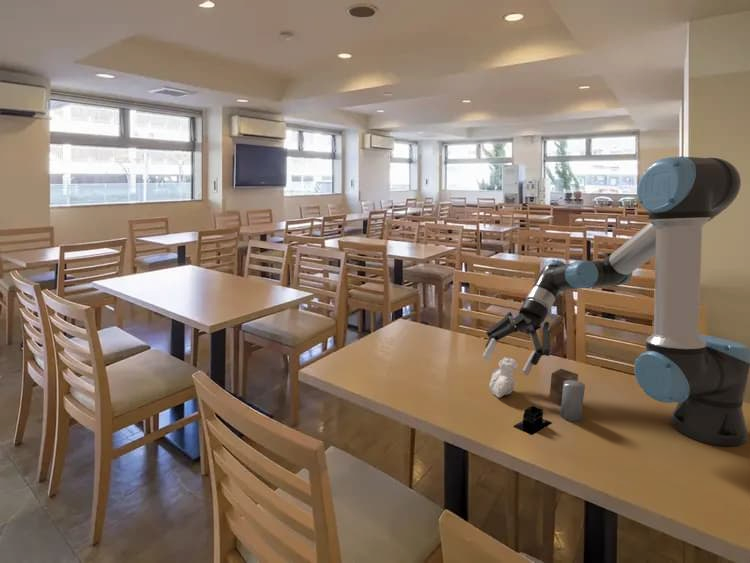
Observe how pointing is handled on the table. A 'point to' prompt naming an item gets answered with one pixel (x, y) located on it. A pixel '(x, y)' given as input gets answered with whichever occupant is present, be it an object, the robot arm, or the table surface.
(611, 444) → the table surface
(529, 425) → the notched block on base
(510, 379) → the bust
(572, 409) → the grey rounded cylinder
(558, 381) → the walnut block
